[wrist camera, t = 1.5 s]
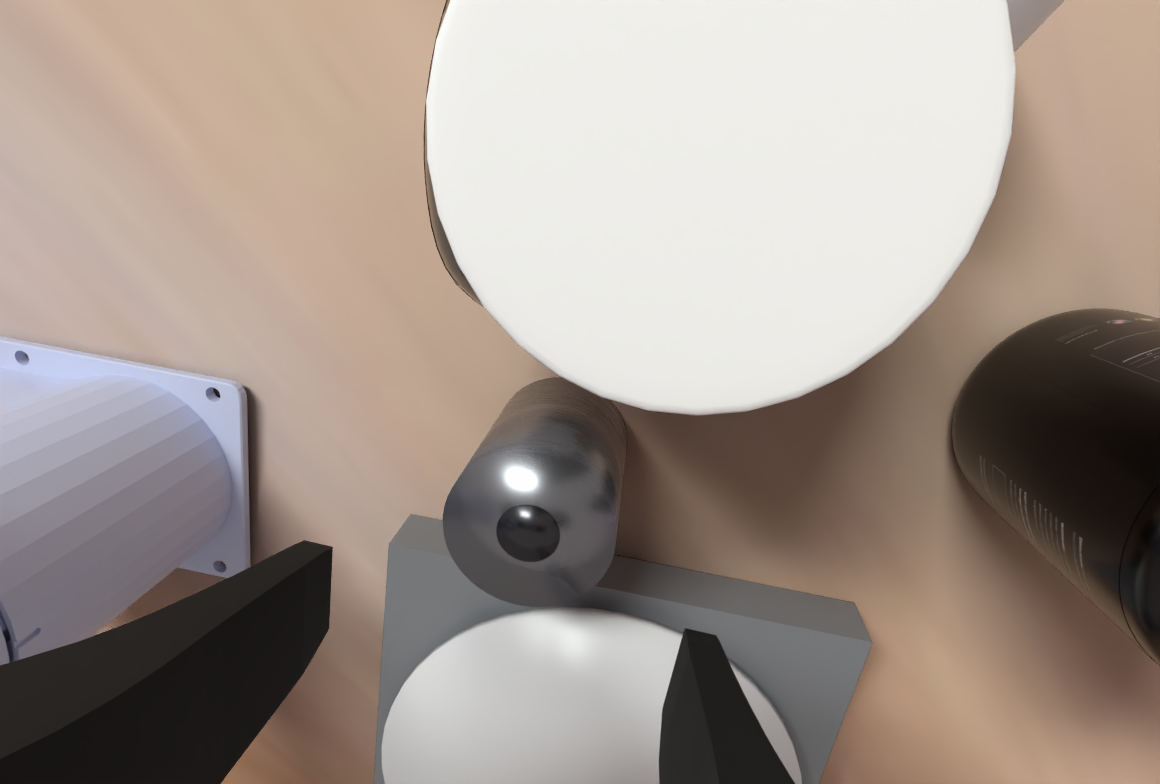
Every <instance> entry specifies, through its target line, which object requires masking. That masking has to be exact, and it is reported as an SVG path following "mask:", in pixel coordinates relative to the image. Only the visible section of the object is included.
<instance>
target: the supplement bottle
mask: <svg viewBox="0 0 1160 784" xmlns="http://www.w3.org/2000/svg"><path fill="white" fill-rule="evenodd" d="M952 439H953V447H954V452H955V455H956V459H957V462H958V465H959V467H960V469H961V471H962V473H963V475H964V477H965V478H966V480H967V481H968V483H969V484H970V485H971V487H972V488H973V489H974V490H975V492H976V493H977V494H978V495H979V496H980V497H981V498H982V499H983V500H984V501H985V502H986V503H987V504H988V505H989V506H990V507H991V508H992V509H993V510H994V511H995V512H996V513H997V514H998V515H999V516H1000V517H1001V518H1002V519H1004V520H1005V521H1006V522H1007V523H1008V524H1009V525H1010V526H1011V527H1012V528H1013V529H1014V530H1015V531H1016V532H1017V533H1018V534H1019V535H1021V536H1022V537H1023V538H1024V539H1025V540H1026V541H1027V542H1028V543H1029V544H1030V545H1031V546H1032V547H1033V548H1034V549H1035V550H1036V551H1037V552H1039V553H1040V554H1041V555H1042V556H1043V557H1044V558H1045V559H1046V560H1047V561H1048V562H1049V563H1050V564H1051V565H1052V566H1053V567H1054V568H1056V569H1057V570H1058V571H1059V572H1060V573H1061V574H1062V575H1063V576H1064V577H1065V578H1066V579H1067V580H1068V581H1069V582H1070V583H1071V584H1072V585H1074V586H1075V587H1076V588H1077V589H1078V590H1079V591H1080V592H1081V593H1082V594H1083V595H1084V596H1085V597H1086V598H1087V599H1088V600H1089V601H1091V602H1092V603H1093V604H1094V605H1095V606H1096V607H1097V608H1098V609H1099V610H1100V611H1101V612H1102V613H1103V614H1104V615H1105V616H1106V617H1107V618H1109V619H1110V620H1111V621H1112V622H1113V623H1114V624H1115V625H1116V626H1117V627H1118V628H1119V629H1120V630H1121V631H1122V632H1123V633H1124V634H1126V635H1127V636H1128V637H1129V638H1130V639H1131V640H1132V641H1133V642H1134V643H1135V644H1136V645H1137V646H1138V647H1139V648H1140V649H1141V650H1143V651H1144V652H1145V653H1146V654H1147V655H1148V656H1149V657H1150V658H1151V659H1152V660H1153V661H1155V662H1156V663H1157V664H1158V665H1159V666H1160V318H1156V317H1151V316H1147V315H1143V314H1139V313H1134V312H1129V311H1123V310H1115V309H1083V310H1076V311H1070V312H1065V313H1061V314H1057V315H1053V316H1050V317H1047V318H1044V319H1041V320H1039V321H1037V322H1034V323H1032V324H1030V325H1028V326H1026V327H1024V328H1022V329H1020V330H1019V331H1017V332H1015V333H1014V334H1012V335H1011V336H1009V337H1008V338H1006V339H1005V340H1004V341H1002V342H1001V343H1000V344H998V345H997V346H996V347H995V348H994V349H993V350H992V351H990V352H989V353H988V354H987V355H986V356H985V357H984V358H983V360H982V361H981V362H980V363H979V364H978V365H977V367H976V368H975V369H974V371H973V372H972V373H971V375H970V377H969V378H968V380H967V381H966V383H965V385H964V387H963V389H962V391H961V394H960V396H959V399H958V401H957V405H956V408H955V412H954V417H953V426H952Z"/></svg>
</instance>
